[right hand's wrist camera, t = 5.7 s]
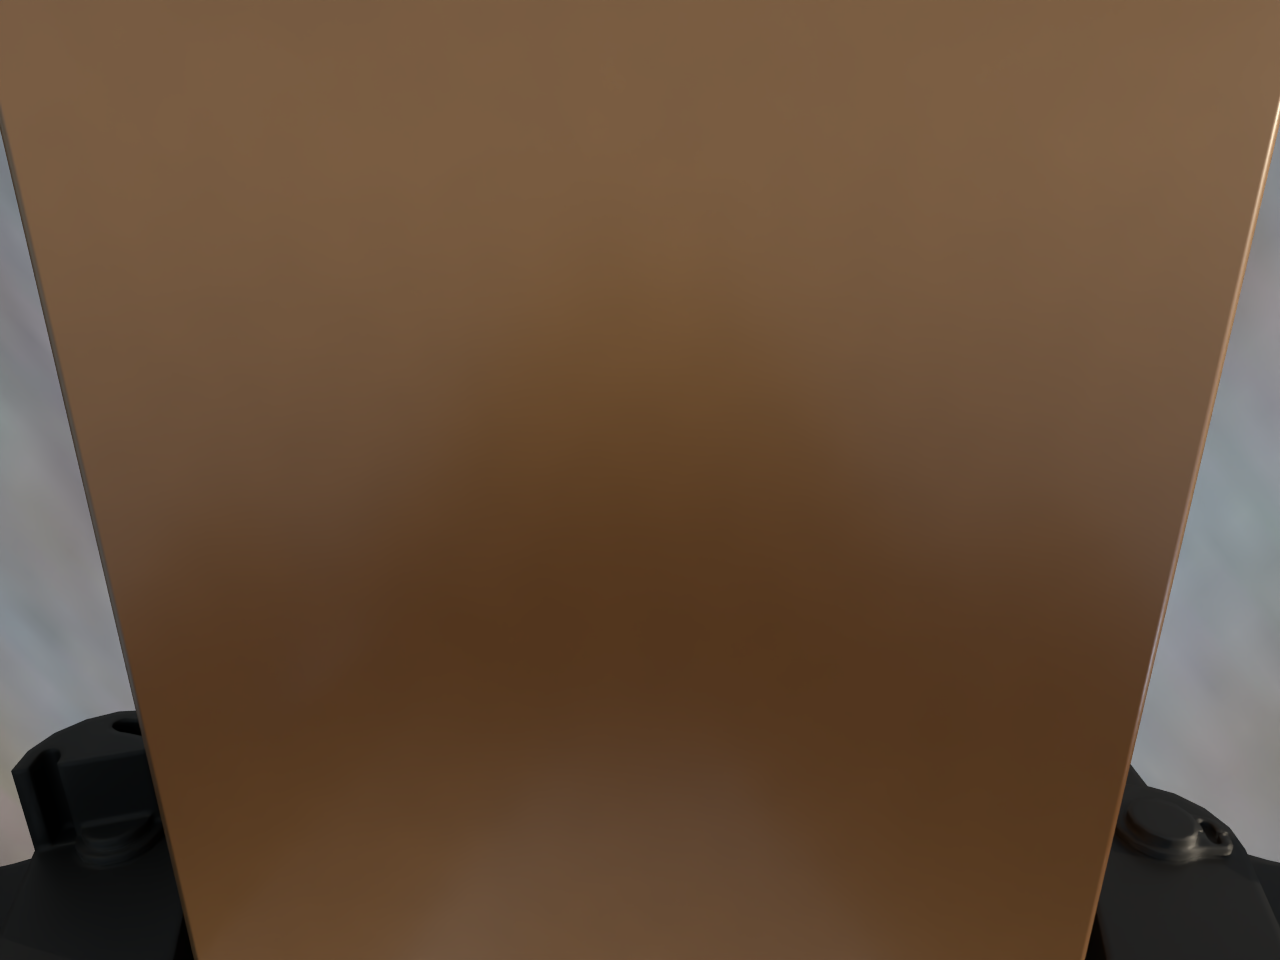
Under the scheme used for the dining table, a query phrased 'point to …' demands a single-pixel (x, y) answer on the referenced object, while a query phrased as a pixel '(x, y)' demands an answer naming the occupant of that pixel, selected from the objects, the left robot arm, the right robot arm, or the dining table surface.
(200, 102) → the bar
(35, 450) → the dining table surface
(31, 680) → the dining table surface
